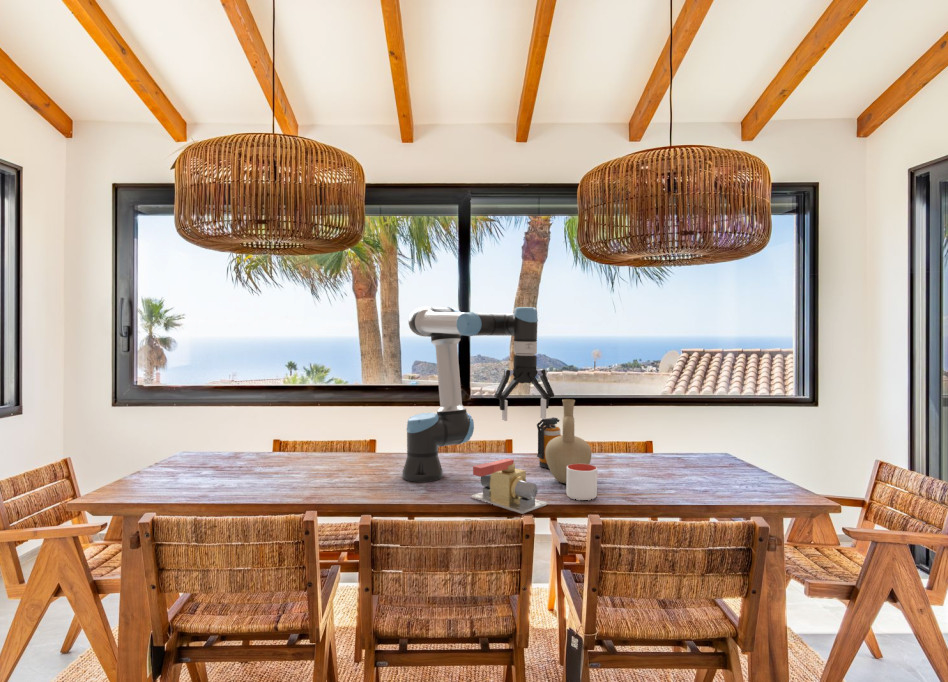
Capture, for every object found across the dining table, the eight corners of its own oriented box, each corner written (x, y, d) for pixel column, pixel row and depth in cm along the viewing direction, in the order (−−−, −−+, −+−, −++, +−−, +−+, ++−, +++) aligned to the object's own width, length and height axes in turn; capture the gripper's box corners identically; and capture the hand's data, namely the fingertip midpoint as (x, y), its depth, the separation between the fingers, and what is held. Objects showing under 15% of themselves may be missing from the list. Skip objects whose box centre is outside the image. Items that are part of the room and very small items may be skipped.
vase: (592, 489, 192) (593, 403, 191) (544, 486, 195) (544, 402, 194) (590, 476, 208) (590, 397, 208) (545, 474, 211) (546, 396, 210)
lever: (507, 467, 181) (507, 457, 181) (517, 470, 178) (517, 459, 178) (471, 477, 169) (471, 465, 169) (481, 480, 166) (481, 468, 166)
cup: (592, 492, 188) (593, 463, 188) (600, 501, 178) (600, 471, 178) (563, 492, 188) (563, 463, 188) (569, 502, 178) (570, 471, 178)
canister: (566, 467, 222) (566, 418, 222) (545, 471, 216) (546, 420, 215) (551, 462, 230) (551, 415, 229) (530, 466, 223) (531, 417, 223)
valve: (471, 497, 182) (471, 467, 182) (495, 490, 190) (495, 461, 190) (522, 513, 166) (522, 481, 166) (546, 505, 175) (546, 473, 174)
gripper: (492, 355, 172) (491, 422, 173) (565, 355, 180) (563, 419, 180) (485, 354, 179) (484, 418, 180) (555, 353, 187) (553, 415, 188)
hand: (524, 419), depth 180 cm, fingers open, 13 cm apart
